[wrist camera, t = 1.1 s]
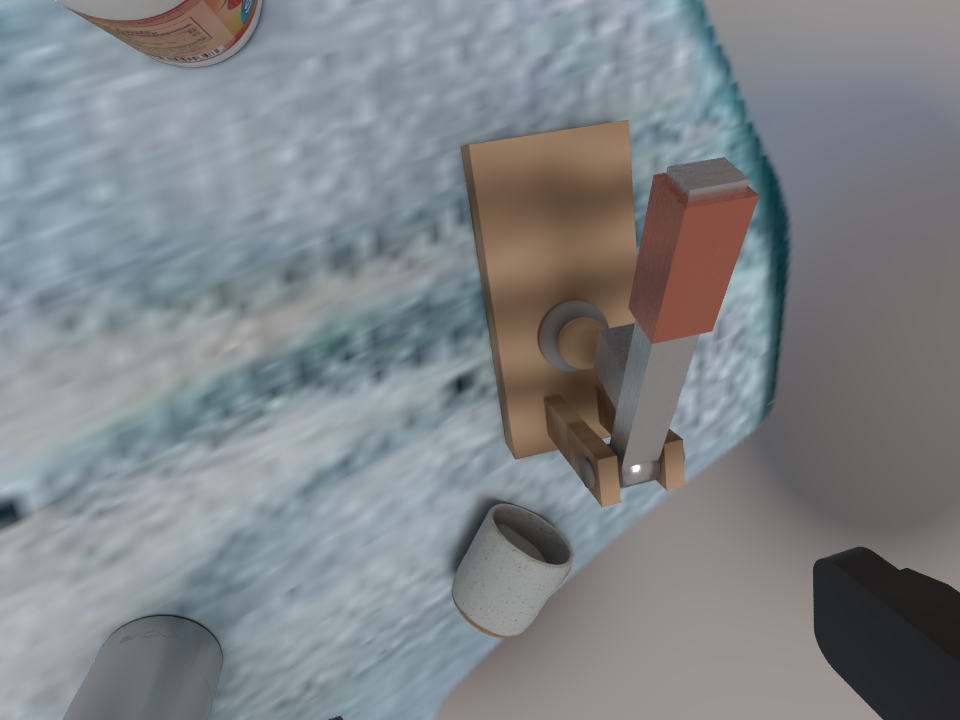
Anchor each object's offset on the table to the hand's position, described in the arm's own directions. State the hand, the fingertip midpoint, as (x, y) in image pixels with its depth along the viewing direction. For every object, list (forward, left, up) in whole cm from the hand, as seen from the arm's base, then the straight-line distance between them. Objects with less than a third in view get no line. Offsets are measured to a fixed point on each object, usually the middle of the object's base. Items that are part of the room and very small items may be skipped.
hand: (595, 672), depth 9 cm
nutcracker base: (0, -11, -35) cm, 37 cm away
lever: (+2, -11, -23) cm, 25 cm away
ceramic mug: (-22, -11, -36) cm, 43 cm away
